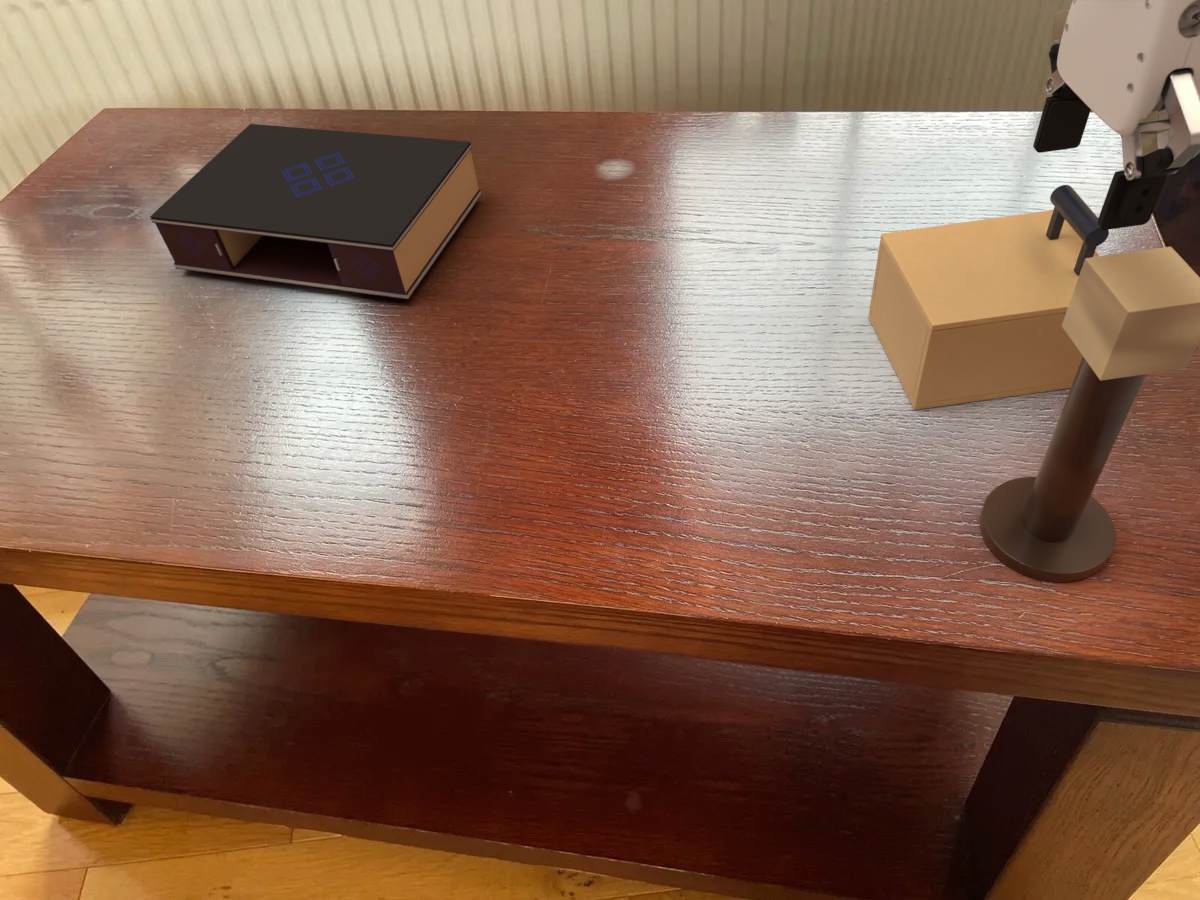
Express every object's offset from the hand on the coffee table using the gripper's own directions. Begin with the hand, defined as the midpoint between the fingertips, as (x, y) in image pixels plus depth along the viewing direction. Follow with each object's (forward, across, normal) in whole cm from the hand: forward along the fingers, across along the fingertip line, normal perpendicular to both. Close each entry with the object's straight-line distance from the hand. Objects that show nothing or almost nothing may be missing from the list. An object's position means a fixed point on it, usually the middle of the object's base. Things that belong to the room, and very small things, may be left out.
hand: (1086, 184), depth 64 cm
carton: (+14, 0, +5) cm, 15 cm away
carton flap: (+6, 0, +5) cm, 8 cm away
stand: (+14, -18, +8) cm, 24 cm away
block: (-2, -18, +8) cm, 20 cm away
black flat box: (+14, +28, +58) cm, 66 cm away
